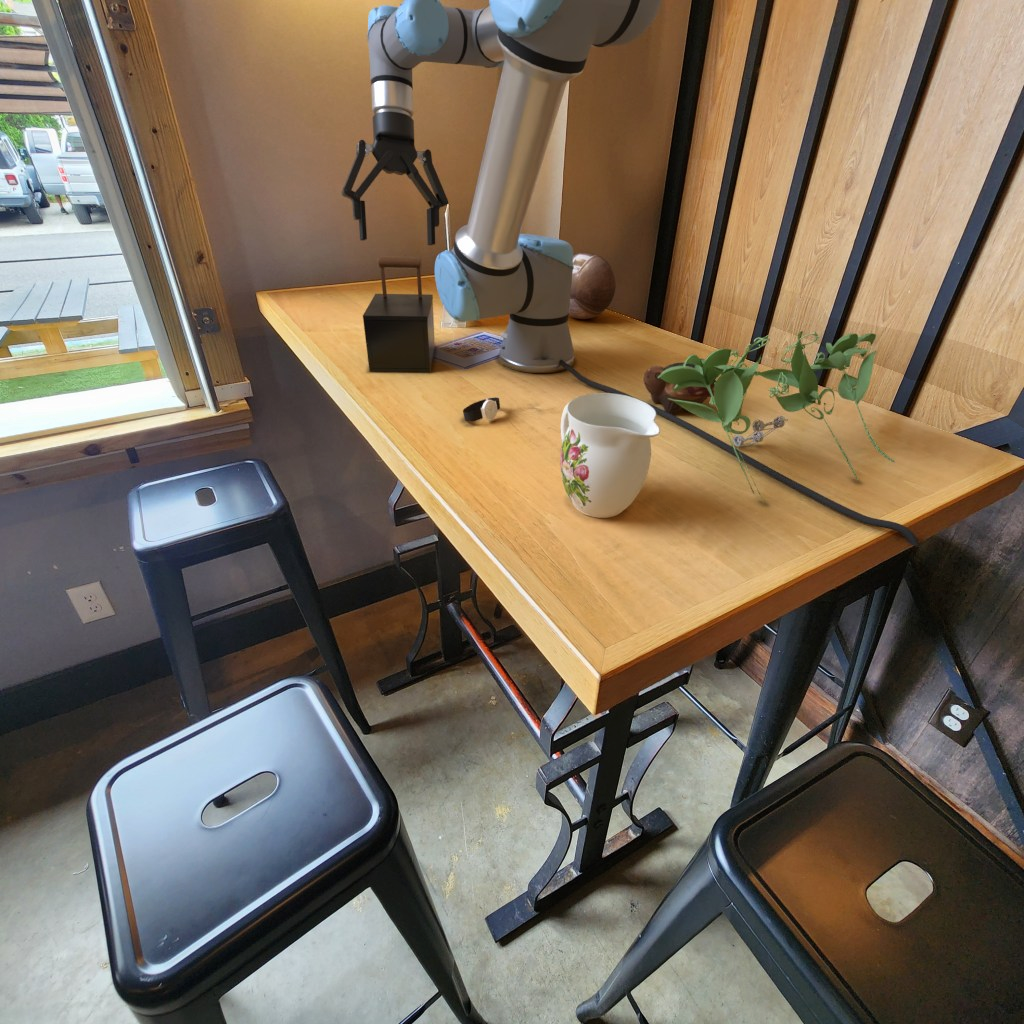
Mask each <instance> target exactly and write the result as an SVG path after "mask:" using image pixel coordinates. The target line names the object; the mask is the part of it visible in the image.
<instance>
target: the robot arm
mask: <svg viewBox="0 0 1024 1024" xmlns="http://www.w3.org/2000/svg"><path fill="white" fill-rule="evenodd" d="M662 2H663V0H488V3H489V5H488V6H485V7H482V8H479V9H467V8H459V7H453V6H445V5H443V4H442V2H441V1H440V0H404V1H402V2H401V3H400V5H398V7H397V6H394V5H390V4H389V5H387V4H384V5H379V7H377V6H376V7H375V6H374V7H373V8H372V9H371V10H369V13H368V16H367V32H366V33H367V35H366V36H367V43H368V56H369V73H370V74H369V75H370V76H369V77H370V91H371V111H372V113H373V116H372V135H373V136H372V137H373V143H368V142H366V141H365V140H364V139H359V141H358V142H357V144H356V148H355V149H356V151H355V152H356V153H355V158H354V160H353V163H352V165H351V168H350V169H349V172H348V175H347V177H346V180H345V182H344V184H343V187H342V190H341V195H342V197H344V198H347V199H349V200H350V201H351V203H352V217H353V220H354V221H358V226H359V227H358V228H359V241H366V240H368V233H367V217H366V201H365V200H361V198H362V197H363V195H364V194H365V193H366V191H367V190H368V189H369V188H370V186H371V185H372V184H373V182H374V181H375V179H377V177H378V176H379V175H380V173H381V172H382V171H383V172H384V173H385V174H387V175H391V174H395V175H397V176H403V175H406V176H407V178H408V179H409V180H410V181H411V182H412V184H413V185H414V186H415V188H416V190H418V193H420V195H421V196H422V198H423V200H425V202H426V203H427V205H428V206H429V207H428V208H427V209H426V231H427V232H426V233H427V234H426V236H427V246H434V245H436V228H438V227H439V226H440V209H441V208H444V207H446V206H447V205H449V200H448V197H447V195H446V192H445V189H444V187H443V185H442V182H441V180H440V177H439V176H438V175H439V174H438V173H437V171H436V168H435V165H434V164H433V157H432V151H431V149H425V150H417V149H416V145H415V121H414V119H413V116H414V113H415V111H414V92H413V90H414V87H413V69H414V68H416V67H417V66H419V65H420V64H421V63H424V62H425V63H437V64H448V65H465V66H474V67H475V66H476V67H483V68H486V69H495V68H502V71H501V75H500V79H499V83H498V87H497V92H496V97H495V101H494V105H493V109H492V115H491V120H490V123H489V128H488V132H487V136H486V141H485V145H484V150H483V155H482V159H481V164H480V168H479V171H478V172H479V173H478V177H477V182H476V184H475V185H476V186H475V191H474V194H473V200H472V204H471V208H470V212H469V217H468V221H467V224H465V225H463V226H461V227H460V228H459V229H457V231H456V233H455V237H454V241H453V246H452V249H451V250H448V249H445V250H444V251H441V252H440V253H438V255H437V256H436V258H435V262H434V280H435V285H436V290H437V293H438V296H439V299H440V302H441V304H442V306H443V307H444V310H445V311H446V313H448V315H449V316H450V318H452V319H453V320H455V321H457V322H477V321H481V320H486V319H490V318H496V317H501V316H502V317H503V316H507V315H509V316H508V317H509V319H508V323H507V327H506V330H505V332H503V331H501V333H500V337H501V338H502V341H501V344H500V348H499V362H500V363H501V364H503V366H505V367H507V368H510V369H512V370H514V371H519V372H524V373H532V374H551V373H556V372H557V373H558V372H561V371H565V370H567V371H568V372H569V373H570V374H572V375H573V376H574V377H575V378H576V379H577V380H578V381H580V382H582V383H584V384H585V385H588V386H590V387H592V388H594V389H597V390H600V391H603V392H605V393H613V394H620V395H626V396H630V397H633V398H636V399H639V398H638V397H635V396H633V395H630V394H628V393H626V392H623V391H621V390H618V389H616V388H614V387H611V386H607V385H605V384H602V383H599V382H597V381H593V380H591V379H589V378H587V377H586V376H584V375H582V374H581V373H580V372H578V371H577V369H575V368H574V367H572V366H573V365H574V363H575V349H574V345H573V339H572V336H571V332H570V331H571V330H570V327H569V326H570V325H569V305H570V294H571V284H572V273H573V269H574V266H573V256H574V248H573V246H572V245H571V243H569V242H568V241H566V240H563V239H559V238H554V237H549V236H543V235H537V234H528V233H522V229H523V226H524V224H525V220H526V216H527V214H528V210H529V206H530V204H531V200H532V198H533V194H534V192H535V187H536V184H537V181H538V178H539V174H540V171H541V169H542V166H543V162H544V159H545V155H546V152H547V149H548V147H549V146H548V145H549V142H550V139H551V135H552V133H553V129H554V127H555V124H556V123H555V122H556V119H557V116H558V113H559V109H560V106H561V103H562V100H563V97H564V95H565V90H566V88H567V84H568V82H569V81H571V80H574V79H575V78H577V77H578V76H580V75H581V74H582V73H583V72H584V69H585V65H586V63H587V61H588V57H589V53H590V50H591V47H593V48H604V47H611V46H612V47H613V46H623V45H626V44H629V43H632V42H633V41H636V40H637V39H638V38H639V37H641V36H642V35H643V34H644V33H645V32H646V31H648V29H649V28H650V26H651V25H652V24H653V21H654V20H655V19H656V17H657V15H658V12H659V10H660V8H661V6H662ZM370 153H371V154H372V156H373V157H374V159H375V161H376V162H377V163H375V165H374V166H373V167H372V169H371V170H370V172H369V173H368V174H367V176H366V177H365V178H364V179H363V181H362V182H361V183H360V185H359V186H358V187H357V189H356V190H355V191H354V190H353V188H354V185H355V182H356V180H357V179H358V175H359V172H360V170H361V167H362V165H363V163H364V160H365V158H367V157H368V156H369V155H370ZM416 160H418V162H419V163H420V164H421V165H422V167H423V171H424V173H425V175H426V177H427V180H428V182H429V184H430V187H431V188H430V187H429V186H428V184H427V183H426V181H425V180H424V178H423V177H422V176H421V174H420V172H419V169H418V168H417V167H416V165H415V162H416ZM639 400H641V399H639ZM641 401H643V402H645V403H647V404H649V405H650V406H651V407H653V408H654V409H655V411H656V415H659V416H661V417H663V418H665V419H667V420H669V421H671V422H673V423H675V424H677V425H678V426H680V427H682V428H684V429H686V430H688V431H690V432H691V433H694V434H696V435H697V436H699V437H701V438H703V439H705V440H706V441H708V442H710V443H711V444H713V445H715V446H717V447H719V448H721V449H722V450H724V451H726V452H727V453H729V454H730V455H733V456H734V457H736V458H737V456H736V454H735V451H734V449H733V447H732V445H730V444H728V443H726V442H725V441H723V440H721V439H719V438H717V437H715V436H713V435H712V434H710V433H709V432H706V431H705V430H703V429H701V428H699V427H697V426H695V425H693V424H692V423H689V422H688V421H685V420H684V419H682V418H679V417H678V416H676V415H674V414H673V413H672V414H670V413H668V412H666V411H665V409H664V410H663V409H662V408H660V407H657V406H655V405H653V404H651V403H649V402H646V401H644V400H641ZM735 449H736V452H737V454H738V456H739V458H740V461H741V460H742V461H743V460H744V461H743V462H745V464H748V465H750V466H752V467H754V468H755V469H756V470H759V471H761V472H763V473H764V474H766V475H768V476H770V477H771V478H773V479H775V480H777V481H779V482H780V483H782V484H784V485H786V486H787V487H789V488H791V489H793V490H795V491H797V492H799V493H800V494H803V495H805V496H807V497H808V498H811V499H812V500H814V501H817V502H818V503H820V504H822V505H824V506H826V507H828V508H830V509H831V510H833V511H835V512H837V513H839V514H841V515H844V516H846V517H848V518H850V519H852V520H855V521H857V522H859V523H862V524H864V525H868V526H872V527H876V528H882V529H886V530H891V531H894V532H897V533H899V534H900V535H902V536H903V537H904V539H906V541H907V542H908V543H909V544H910V545H911V546H913V547H917V548H919V547H920V546H921V544H920V543H921V542H920V540H919V539H918V538H917V535H916V534H915V533H914V532H913V531H912V530H911V529H910V528H908V527H907V526H906V525H903V524H901V523H898V522H895V521H891V520H886V519H880V518H876V517H871V516H867V515H865V514H862V513H860V512H857V511H855V510H854V509H851V508H849V507H846V506H844V505H842V504H840V503H838V502H837V501H835V500H832V499H831V498H829V497H827V496H825V495H822V494H820V493H819V492H817V491H815V490H812V489H811V488H809V487H807V486H805V485H803V484H802V483H799V482H798V481H795V480H794V479H791V478H790V477H788V476H787V475H784V474H783V473H781V472H778V470H775V469H773V468H772V467H770V466H768V465H766V464H763V463H762V462H760V461H758V460H757V459H755V458H753V457H751V456H749V455H747V453H744V452H742V451H741V450H740V449H739V450H738V448H735ZM739 451H740V452H739ZM740 453H741V454H740ZM741 455H742V456H741ZM742 457H743V459H742Z"/></svg>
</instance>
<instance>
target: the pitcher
mask: <svg viewBox="0 0 1024 1024" xmlns="http://www.w3.org/2000/svg"><path fill="white" fill-rule="evenodd" d="M630 396H631V395H630ZM630 396H626V395H620V394H613V393H609V392H594V393H593V392H592V393H588V394H581V395H579V396H577V397H575V398H572V399H571V401H569V402H568V403H566V405H565V406H564V407H563V410H562V412H561V413H562V414H561V418H560V439H561V448H560V457H559V466H560V476H561V481H562V484H563V487H564V490H565V493H566V495H567V497H568V499H569V501H570V502H571V503H572V504H573V506H574V508H575V509H576V510H577V511H578V512H580V513H581V514H583V515H585V516H588V517H592V518H598V519H607V518H613V517H616V516H618V515H619V514H621V513H623V511H625V510H626V509H627V508H629V507H630V506H631V505H632V503H633V502H634V501H635V499H636V498H637V497H638V496H639V494H640V491H642V488H643V486H644V484H645V481H646V479H647V477H648V474H649V470H650V466H651V458H652V444H651V443H652V442H651V438H654V437H656V436H659V434H660V433H661V430H660V427H659V425H658V424H657V422H656V421H655V420H656V418H657V413H656V411H655V409H654V408H653V407H651V406H650V405H649V404H650V403H649V404H647V403H648V402H646V401H644V400H642V401H641V399H640V400H639V398H637V397H635V398H633V397H634V396H633V397H630ZM636 398H637V399H636ZM643 401H644V402H643ZM645 402H646V403H645Z"/></svg>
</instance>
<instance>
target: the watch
mask: <svg viewBox="0 0 1024 1024" xmlns="http://www.w3.org/2000/svg"><path fill="white" fill-rule="evenodd" d="M500 403H501V402H500V398H499V397H489V398H488V397H487V398H484V399H481V400H479V401H475V402H473V403H471V404H469V405H468V406H466V407H465V408H463V409H462V413H463V418H464V421H465V422H471V423H472V422H475V421H479V420H482V419H484V420H487V421H491V420H494V419H495V418H496V416H497V413H498V411H499V410H500V409H501V404H500Z"/></svg>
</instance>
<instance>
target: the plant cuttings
mask: <svg viewBox="0 0 1024 1024" xmlns="http://www.w3.org/2000/svg"><path fill="white" fill-rule="evenodd" d="M803 333H804V331H803V330H800V331H799V332H798V334H797V341H796V342H794V343H793V345H792V344H789V346H788V347H786V348H785V349H784V350H785V352H784V353H782V354H781V356H780V361H781V362H782V364H785V365H789V364H790V366H791V367H790V368H791V370H790V369H786V368H773V369H768V370H764V371H759V370H757V369H758V367H759V364H760V362H761V359H762V357H761V356H762V355H759V357H758V359H757V360H756V362H754V363H753V364H752V365H750V366H749V367H748V365H747V363H746V362H745V361H746V358H747V356H748V355H749V353H750V352H753V351H756V350H759V349H760V348H762V347H764V346H766V345H767V344H768V343H769V342H770V341H771V339H770V338H769V336H770V334H768V335H766V336H764V337H756V338H755V339H754V340H753V343H752V344H751V343H747V346H746V347H745V352H744V353H743V354H742V356H741V357H740V358H739V353H738V352H739V350H735V349H729V348H719V349H716V350H714V351H712V352H711V353H710V354H708V355H707V357H706V358H705V359H704V358H700V357H699V356H698V355H697V354H691V355H689V356H688V357H687V358H686V359H685V361H684V362H685V363H684V365H683V366H675V367H671V368H668V369H666V370H665V371H663V372H662V373H661V374H660V375H659V376H658V378H661V379H662V380H664V381H666V382H668V383H671V384H675V385H676V386H675V387H674V389H673V392H675V391H677V390H680V389H683V388H686V387H690V386H699V387H707V389H708V391H709V393H710V395H711V397H710V400H709V405H705V404H703V403H702V404H700V403H696V402H690V401H683V400H676V399H670V398H668V399H669V400H672V401H674V402H675V403H677V404H678V405H679V406H681V408H682V409H684V410H685V411H688V412H689V413H691V414H693V415H695V416H697V417H699V418H702V419H704V420H706V421H710V422H713V423H714V422H715V423H719V424H721V428H722V429H723V430H724V431H725V432H726V435H727V437H728V440H729V442H730V444H731V446H732V447H733V449H734V451H735V454H736V456H737V457H736V456H735V457H736V459H737V460H738V463H739V465H740V467H741V470H742V472H743V474H744V476H745V478H746V481H747V482H748V485H749V487H750V489H751V492H752V494H753V495H754V494H755V491H754V490H753V489H754V488H752V485H751V483H750V480H749V478H748V476H747V472H746V471H745V468H744V466H743V463H744V465H745V466H746V469H747V471H748V473H749V475H750V478H751V480H752V482H753V484H754V486H755V488H756V490H757V492H758V494H759V496H760V498H761V499H762V501H764V499H763V496H762V495H761V492H760V491H759V489H758V486H757V484H756V483H755V480H754V479H753V476H752V474H751V473H750V471H749V468H748V466H747V465H746V464H747V463H746V462H745V461H744V460H742V461H743V463H742V461H741V459H740V458H739V456H738V454H737V452H736V449H737V450H739V452H740V451H741V450H740V449H739V448H741V447H746V446H750V445H753V444H755V443H760V442H763V441H764V438H765V437H766V436H768V435H769V434H771V433H772V432H774V431H775V430H776V429H781V428H783V427H784V426H785V423H786V422H788V421H789V419H788V418H785V417H784V416H783V415H777V416H776V417H774V419H773V421H768V422H766V423H765V422H764V421H762V420H761V419H755V420H754V421H753V422H752V421H751V419H750V417H748V416H746V415H742V409H743V404H744V400H745V399H744V398H746V396H747V392H748V389H749V387H750V385H751V383H752V381H753V378H754V376H755V377H758V376H760V377H762V378H765V379H767V380H770V381H773V382H777V384H776V387H770V388H769V389H768V391H769V398H771V399H772V398H775V399H776V400H777V402H778V404H779V405H780V406H781V407H782V409H783V410H784V411H785V412H789V413H794V412H795V413H796V412H798V411H801V410H804V411H805V412H806V413H808V414H809V415H810V416H811V417H813V418H814V419H817V420H819V421H820V420H823V421H824V423H825V424H826V426H827V428H828V429H829V431H830V433H831V435H832V437H833V438H834V441H835V442H836V444H837V446H838V448H839V450H840V451H841V453H842V455H843V457H844V459H845V461H846V462H847V464H848V466H849V468H850V470H851V472H852V473H853V475H854V477H855V479H856V481H857V482H858V483H859V478H858V475H857V473H856V472H855V470H854V468H853V465H852V464H851V462H850V460H849V458H848V457H847V454H846V453H845V451H844V449H843V448H842V446H841V444H840V443H839V440H838V439H837V438H836V436H835V434H834V432H833V431H832V429H831V427H830V426H829V423H828V422H827V421H826V418H825V415H824V413H825V414H826V415H829V416H830V415H831V414H832V413H833V411H834V409H835V408H834V407H835V403H833V404H832V407H831V408H830V410H829V411H826V408H825V406H827V403H826V402H823V411H824V413H823V411H822V410H820V409H819V407H818V406H820V405H822V398H823V396H824V395H825V394H826V393H829V392H830V393H832V396H833V400H835V392H834V389H832V388H831V387H830V388H824V389H823V390H822V391H821V392H820V393H818V392H819V381H818V377H817V375H816V373H815V372H816V371H820V370H832V369H835V370H838V371H840V372H841V371H842V372H843V375H842V376H841V378H840V381H839V384H838V386H837V392H838V395H839V397H840V398H842V399H844V400H848V401H851V402H854V403H855V404H856V407H857V410H858V413H859V416H860V419H861V422H862V425H863V427H864V430H865V432H866V434H867V437H868V438H869V439H868V440H870V442H871V444H872V445H873V447H874V448H875V449H876V451H877V452H878V453H879V454H880V455H881V456H883V457H884V458H885V459H887V460H888V461H890V462H891V463H896V460H894V459H892V458H891V457H890V456H888V455H887V454H886V453H885V452H884V451H883V450H882V449H881V448H880V447H879V446H878V445H877V443H876V442H875V440H874V439H873V436H872V435H871V433H870V431H869V429H868V426H867V425H866V422H865V420H864V417H863V415H862V413H861V410H860V406H859V403H860V402H861V401H862V400H863V398H864V397H865V395H866V393H867V391H868V389H869V386H870V383H871V378H872V374H873V369H874V368H873V367H874V360H875V356H876V353H877V350H873V348H868V349H866V348H860V347H859V346H860V345H859V343H863V342H869V343H870V346H873V343H874V342H875V340H876V337H877V335H876V333H872V332H870V333H864V334H862V335H860V336H859V335H858V334H857V333H847V334H845V335H843V336H841V337H840V338H838V339H837V340H836V342H834V344H832V343H831V342H828V341H826V343H825V348H826V350H827V352H828V354H829V356H828V357H826V354H825V352H822V351H820V352H817V353H816V356H817V357H816V358H815V359H814V361H813V364H812V365H810V363H809V360H808V358H807V355H806V352H805V351H806V350H805V349H806V346H808V345H811V344H813V343H815V342H817V341H818V340H819V339H820V337H821V336H820V335H819V334H818V333H817V332H816V331H813V333H808V334H805V335H803ZM802 335H803V336H802ZM808 336H814V337H815V338H814V339H813V340H812V341H810V342H808V343H802V340H803V339H804V338H806V337H808ZM759 343H761V344H759ZM757 344H758V347H756V348H753V347H754V346H756V345H757ZM752 348H753V349H752ZM792 349H794V351H793V353H792V356H791V358H789V357H785V358H784V359H783V357H784V355H785V354H786V353H788V352H789V351H790V350H792ZM872 350H873V351H872ZM869 351H871V352H870V353H869V354H868V355H866V354H867V353H868V352H869ZM855 354H857V355H860V356H861V358H863V360H862V362H861V364H860V367H859V369H858V374H857V377H855V376H853V375H850V374H848V373H847V371H845V370H846V369H848V368H850V367H851V366H850V365H851V360H852V357H853V356H854V355H855ZM732 356H733V357H734V358H735V360H734V359H730V358H731V357H732ZM820 356H822V357H820ZM864 357H865V358H864ZM729 361H730V362H732V363H731V364H728V363H729ZM736 361H737V362H736ZM735 362H736V363H735ZM686 364H695V369H694V368H692V367H689V366H685V365H686ZM734 364H735V365H734ZM714 380H716V383H714V384H715V386H714V396H713V394H712V391H711V388H710V385H711V384H712V383H713V382H714ZM780 384H781V385H780ZM790 386H791V387H794V388H796V389H798V392H796V393H791V394H789V393H790ZM779 388H781V390H780V389H779ZM788 394H789V395H788ZM781 395H782V396H781ZM816 403H817V406H816V407H817V408H816V407H811V408H810V411H811V412H812V413H815V411H817V412H818V413H819V415H820V417H818V416H816V415H814V414H812V413H811V412H809V411H808V410H807V409H806V408H807V407H809V406H811V405H813V404H816ZM711 406H712V407H714V408H716V410H717V411H716V410H715V409H713V408H712V407H711ZM739 420H742V421H743V422H744V423H745V429H744V430H741V431H740V430H737V429H736V430H735V429H734V428H732V427H733V422H734V423H736V424H737V426H739V424H740V423H739ZM751 424H752V429H753V432H752V433H750V434H749V435H747V436H746V438H744V436H743V435H742V434H745V433H746V432H747V431H748V430H749V429H750V427H751ZM772 425H773V427H771V428H766V427H768V426H772ZM763 431H766V432H765V433H763ZM729 433H730V434H729ZM733 434H734V436H733ZM730 435H731V436H730ZM731 437H732V438H731ZM750 440H751V441H752V442H751V443H748V444H747V443H746V444H744V443H745V442H747V441H750ZM740 454H741V453H740ZM741 456H742V455H741ZM742 459H743V457H742Z"/></svg>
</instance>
